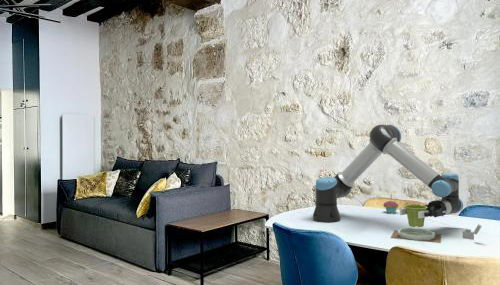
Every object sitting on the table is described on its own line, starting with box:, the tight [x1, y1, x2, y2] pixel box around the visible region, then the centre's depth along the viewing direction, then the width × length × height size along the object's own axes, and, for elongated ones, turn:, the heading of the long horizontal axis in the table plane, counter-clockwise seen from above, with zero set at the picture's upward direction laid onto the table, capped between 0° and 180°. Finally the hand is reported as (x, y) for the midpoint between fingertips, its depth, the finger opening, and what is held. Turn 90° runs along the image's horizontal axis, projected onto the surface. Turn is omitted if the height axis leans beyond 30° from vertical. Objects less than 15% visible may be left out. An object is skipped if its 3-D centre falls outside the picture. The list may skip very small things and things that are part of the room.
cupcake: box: [383, 194, 399, 214], centre depth 234 cm, size 9×8×12 cm
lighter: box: [462, 224, 483, 240], centre depth 167 cm, size 7×2×8 cm, turn 50°
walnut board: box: [390, 229, 442, 244], centre depth 172 cm, size 20×16×2 cm
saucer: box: [397, 227, 436, 242], centre depth 172 cm, size 15×15×2 cm
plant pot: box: [403, 204, 427, 228], centre depth 172 cm, size 9×9×9 cm
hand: (409, 213), depth 169 cm, fingers closed on plant pot, 8 cm apart
